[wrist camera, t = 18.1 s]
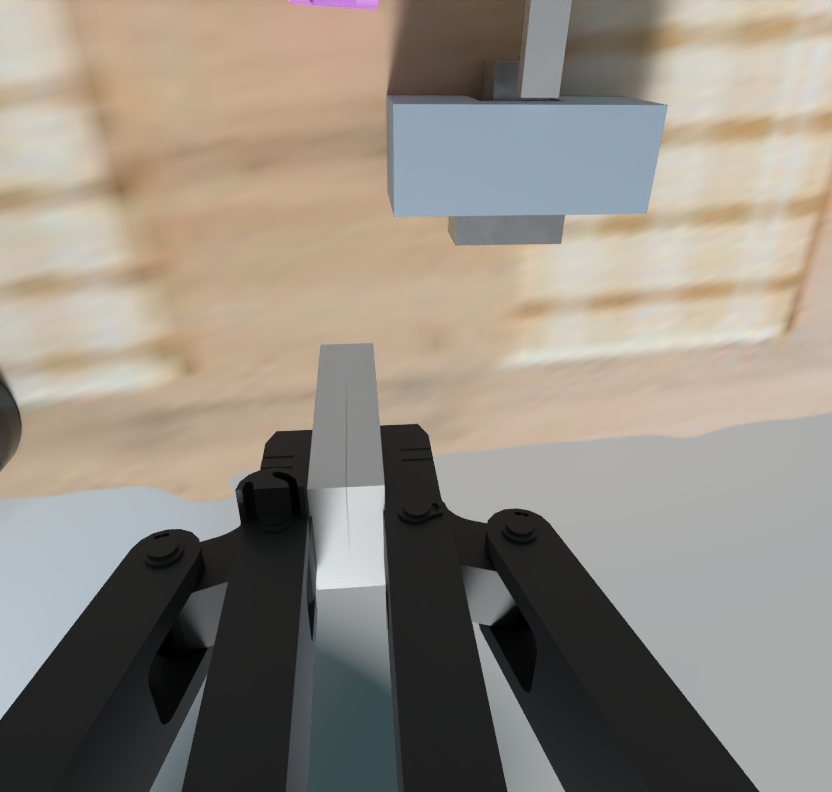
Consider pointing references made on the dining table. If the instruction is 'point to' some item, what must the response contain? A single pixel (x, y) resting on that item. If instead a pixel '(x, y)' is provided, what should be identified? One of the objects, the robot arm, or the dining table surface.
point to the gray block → (509, 227)
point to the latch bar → (543, 48)
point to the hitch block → (521, 155)
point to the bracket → (340, 3)
